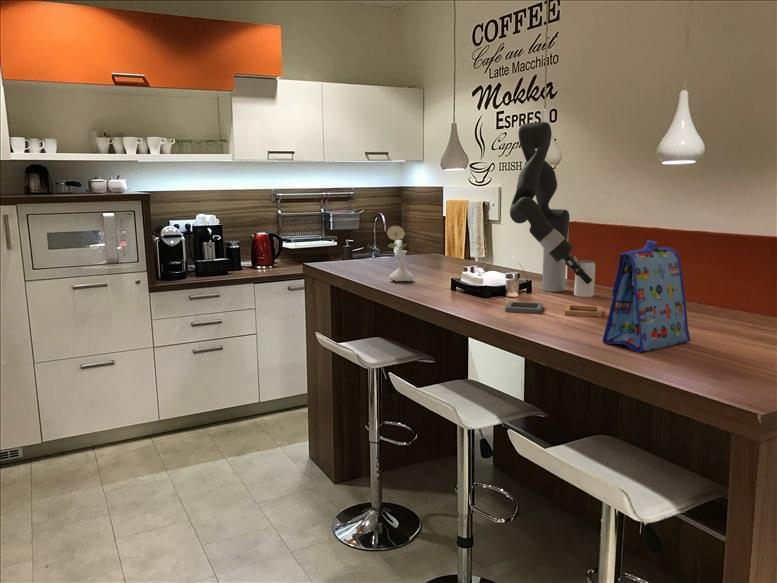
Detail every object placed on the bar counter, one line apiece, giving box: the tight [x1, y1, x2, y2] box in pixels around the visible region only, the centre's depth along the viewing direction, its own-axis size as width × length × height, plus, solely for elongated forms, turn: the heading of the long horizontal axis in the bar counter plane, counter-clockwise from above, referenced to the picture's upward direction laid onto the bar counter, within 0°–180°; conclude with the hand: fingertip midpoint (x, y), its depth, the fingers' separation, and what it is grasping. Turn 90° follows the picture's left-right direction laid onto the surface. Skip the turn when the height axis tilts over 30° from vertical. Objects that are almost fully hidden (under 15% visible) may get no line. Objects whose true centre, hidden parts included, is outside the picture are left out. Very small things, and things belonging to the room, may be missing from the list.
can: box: [573, 259, 596, 298], centre depth 221 cm, size 6×6×12 cm
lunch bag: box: [602, 239, 691, 353], centre depth 179 cm, size 22×14×29 cm, turn 123°
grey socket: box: [504, 300, 544, 314], centre depth 229 cm, size 12×12×2 cm
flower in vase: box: [386, 225, 415, 282], centre depth 288 cm, size 13×11×25 cm
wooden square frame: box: [564, 303, 603, 318], centre depth 223 cm, size 12×12×2 cm
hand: (589, 280), depth 221 cm, fingers closed on can, 6 cm apart
